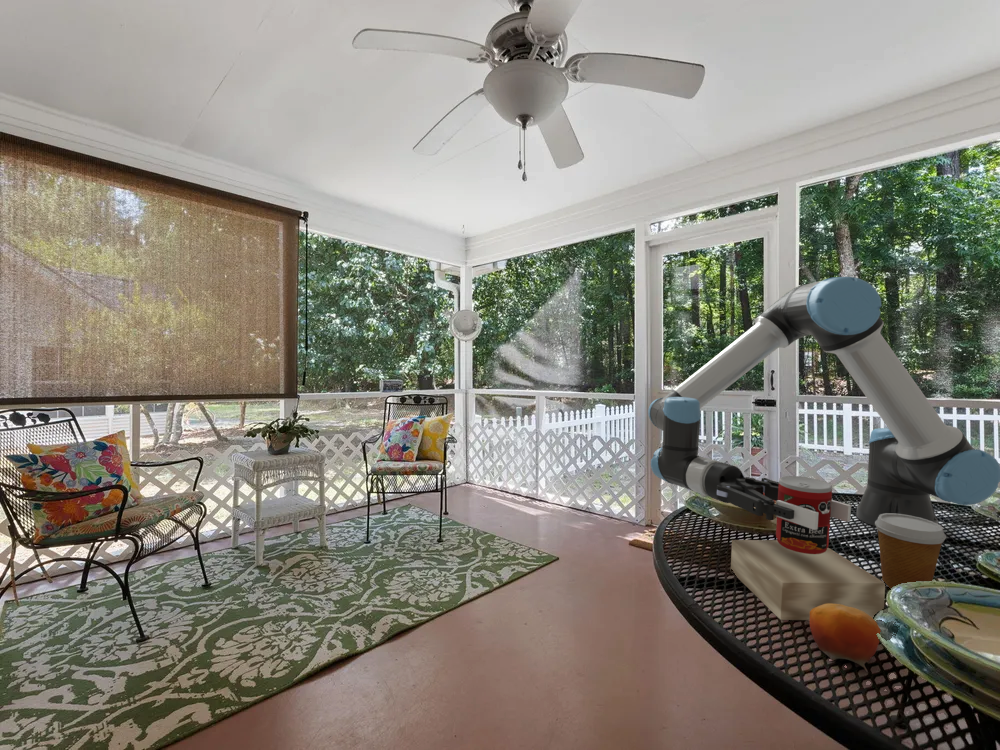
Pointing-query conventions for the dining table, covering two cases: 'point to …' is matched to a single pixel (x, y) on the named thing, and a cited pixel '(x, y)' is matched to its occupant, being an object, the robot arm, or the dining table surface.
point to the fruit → (844, 632)
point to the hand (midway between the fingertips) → (833, 517)
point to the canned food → (810, 497)
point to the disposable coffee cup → (908, 548)
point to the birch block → (803, 579)
